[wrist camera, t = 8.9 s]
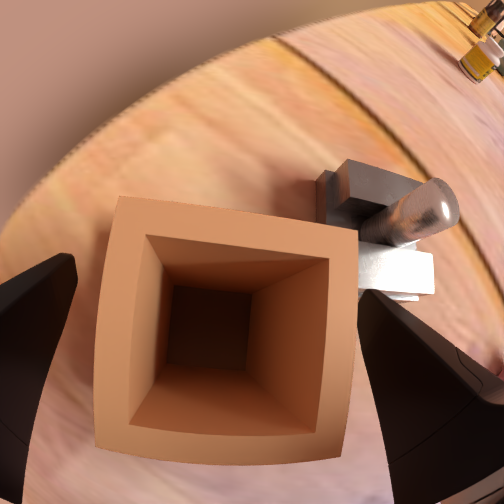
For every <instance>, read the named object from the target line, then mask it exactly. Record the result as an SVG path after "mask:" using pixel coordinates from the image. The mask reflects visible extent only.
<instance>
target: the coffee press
mask: <svg viewBox="0 0 504 504" xmlns="http://www.w3.org/2000/svg"><path fill="white" fill-rule="evenodd" d="M501 1H502V2H503V3H504V0H501ZM495 2H496V0H492V1H491V2H490V3H489V4H488V5H487V6H490V5H493V4H494V3H495ZM487 6H486V7H487ZM500 16H501V17H500V20H499V21H498V22H497V23H496V24H495V25H494V26H493V27H492V28H491V30H490V31H489V32H488V33H487V34H488V35H491V34H492V37H493V35H494V37H493V38H494V39H495V38H496V35H497V33H498V34H499V35H500V36H501V37H503V38H504V35H503V34H502V33H501V32H500V31H501V30H502V29H503V28H504V10H503V11H502V13H501V15H500ZM474 18H475V17H473V19H474Z"/></svg>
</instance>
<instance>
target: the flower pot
mask: <svg viewBox="0 0 504 504" xmlns="http://www.w3.org/2000/svg"><path fill="white" fill-rule="evenodd" d="M498 45H499V46H500V47H501V48H502V49H503V51H504V40H503V39H501V40H500V42H499V43H498ZM499 61H500V65H499V66H498V67H497V70H498V71H499V72H500V73H501V75H502V76H503V77H504V56H503V57H502V58H499Z"/></svg>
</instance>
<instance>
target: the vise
mask: <svg viewBox="0 0 504 504" xmlns="http://www.w3.org/2000/svg"><path fill="white" fill-rule="evenodd" d="M458 220H459V205H458V202H457V199H456V196H455V194H454V192H453V191H452V189H451V188H450V187H449V185H448V184H447V183H446V182H444V181H443V180H441V179H439V178H432V179H431V180H429V181H427V182H426V183H424V184H423V183H421V182H419V181H416V180H413V179H410V178H407V177H405V176H402V175H399V174H396V173H393V172H390V171H387V170H383V169H380V168H377V167H374V166H371V165H367V164H364V163H360V162H357V161H354V160H350V159H347V160H346V161H345V162H344V163H343V164H342V165H341V166H340V167H339V168H338V169H337V170H336V171H335V172H332V171H327V170H325V171H324V172H323V173H322V174H321V175H320V177H319V178H318V179H317V180H316V223H319V224H324V225H330V226H336V227H341V228H347V229H352V230H357V231H358V300H360V298H361V296H362V294H363V292H364V291H365V290H366V289H368V288H370V289H378V290H379V291H381V292H382V293H384V294H385V295H386V296H388V297H389V298H391V299H392V300H394V301H395V302H399V303H406V302H412V301H418V296H424V295H429V294H434V275H433V257H432V254H429V253H424V252H419V251H417V250H416V242H417V241H419V240H422V239H424V238H426V237H429V236H431V235H434V234H436V233H438V232H441V231H443V230H445V229H448V228H450V227H452V226H454V225H456V224H457V222H458Z"/></svg>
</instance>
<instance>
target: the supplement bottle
mask: <svg viewBox="0 0 504 504" xmlns="http://www.w3.org/2000/svg"><path fill="white" fill-rule="evenodd" d="M503 56H504V51H503V49H502V48H501V47H500V46H499V45H498V44H497V43H496V42H495V41H494V39H492V38H491V37H488V38H487V39H486V42H485V43H484V42H482V41H479V42H477V43H476V44H475V45H474V46H473V47H472V48H471V49H470V50H469V51H468V52H467V53H466V54H465V55H464V56H463V57H462V58H461V59H460V60H459V61H458V64H459V66H460V68H461V70H462V71H463V72H464V73H465V74H466V76H467V77H468V78H469V79H470V80H471V81H473V82H474V83H476V84H479V83H480V82H481V81H482V80H483V79H485V78H486V77H487V76H488V75H489V74H490V73H491V72H493V71H494V70H495V69H496V68H497V67H498V66H499V65H500V61H499V58H502V57H503Z"/></svg>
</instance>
